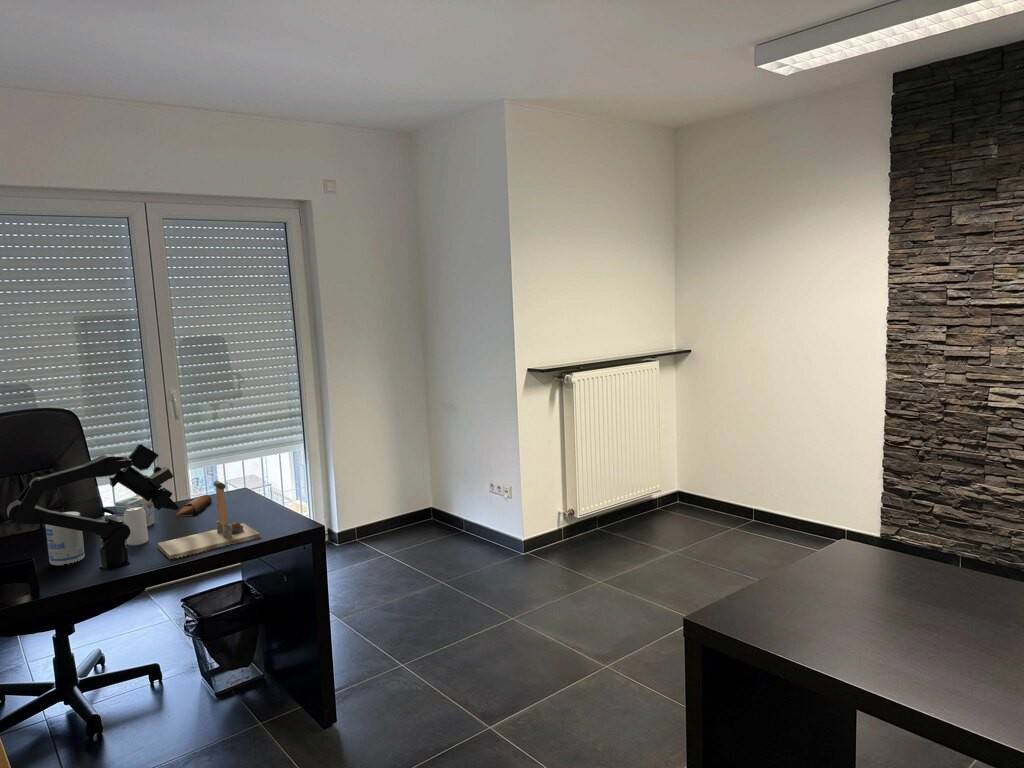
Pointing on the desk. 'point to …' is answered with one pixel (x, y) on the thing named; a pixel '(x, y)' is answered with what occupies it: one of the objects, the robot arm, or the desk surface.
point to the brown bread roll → (195, 505)
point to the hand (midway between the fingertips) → (178, 508)
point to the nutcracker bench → (208, 540)
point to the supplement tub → (64, 544)
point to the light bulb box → (135, 501)
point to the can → (136, 525)
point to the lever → (221, 502)
